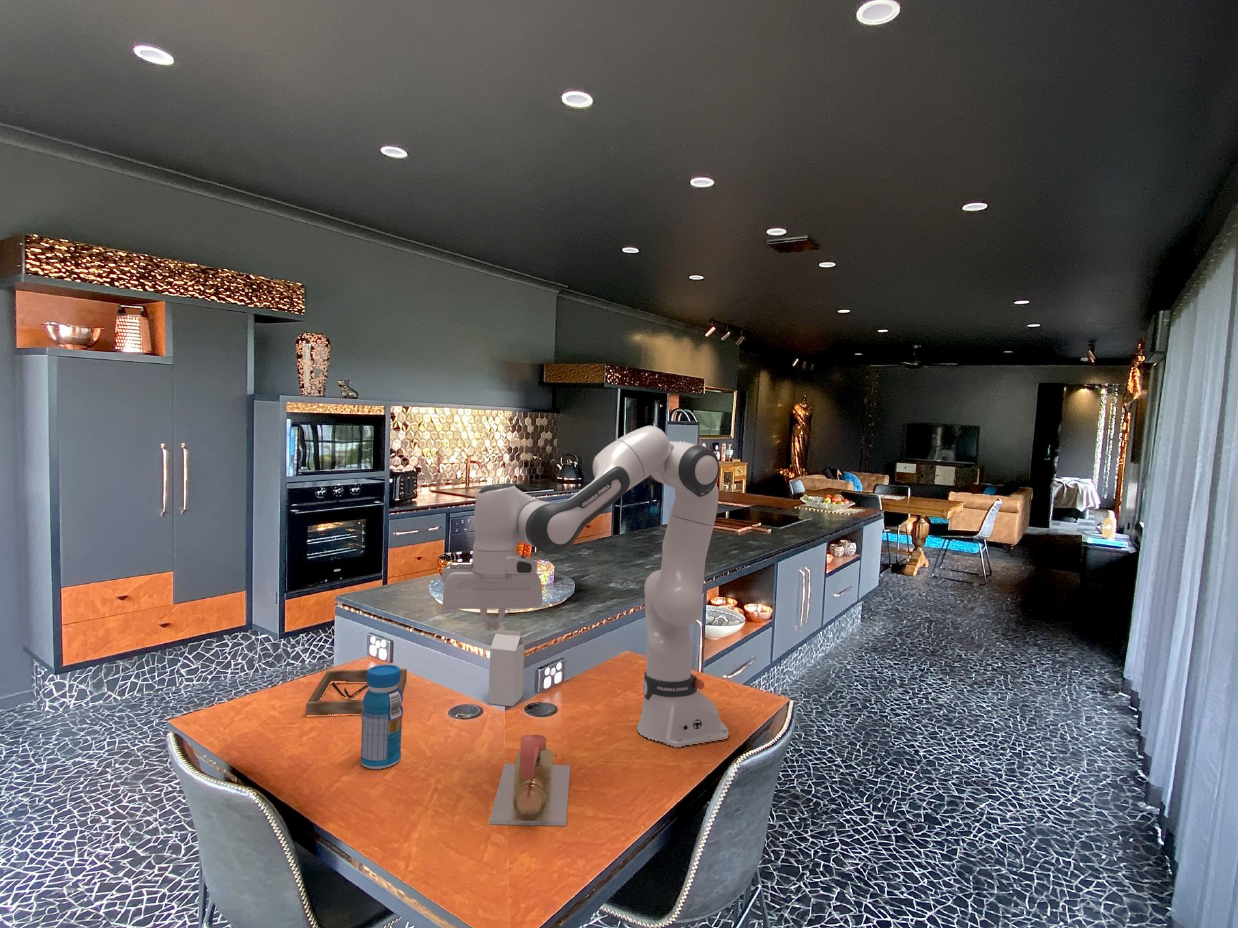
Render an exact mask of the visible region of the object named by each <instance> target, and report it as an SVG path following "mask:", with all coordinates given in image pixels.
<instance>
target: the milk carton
mask: <svg viewBox="0 0 1238 928" xmlns="http://www.w3.org/2000/svg"><path fill="white" fill-rule="evenodd" d="M521 635H522V632H521V631H512V630H502V629H499V630H495V634H494V637H493V640H492V642H491V645H490V647H489V648H490V653H489V675H488V699H487V701H488V702H487V703H488V704H490V705H498V706H499V705H500V706H504V707H505V706H506V707H515V705H516V704H517V703H518V702H519V701H520V700H522V698H523V694H524V693H523V691H524V688H523V687H524V670H525V669H524V667H525V661H524V660H525V641H524V639H523V637H522V636H521Z"/></svg>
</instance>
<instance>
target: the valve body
mask: <svg viewBox="0 0 1238 928" xmlns="http://www.w3.org/2000/svg"><path fill="white" fill-rule="evenodd" d="M553 762H554V750H551V749H548V748H547V747H546V749H545V750H544V751H541V752H539V754H538V757H537V761H536V765H535V769H534V777H533V778H532V779H529V780H523V779H521V778H520V777H519V771H520V749H518V751H517V755H516V759H515V763H504V766H503V769H502V773H501V775H500V780H499V783H498V786H497V791H496V794H495V796H494V797H495V798H494V801H493V804H492V809H491V812H490V816H489V819H488V820H489V821H488V825H501V826H502V825H503V826H510V825H511V826H548V827H550V826H553V827H555V826H556V827H558V826H559V827H566V826H567V818H568V803H569V789H570V776H571V775H570V772H571V765H570V764H553Z"/></svg>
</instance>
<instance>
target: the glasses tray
mask: <svg viewBox="0 0 1238 928" xmlns="http://www.w3.org/2000/svg"><path fill="white" fill-rule="evenodd" d="M368 670H369V669H346V670H344V669H343V670H342V669H341V670H338V669H337V670H327V671H326V672H325V674H324V676H323V677H322V678H321V679H320V681H319V683H318V684H317V686H316V688H315V690H314V691H313V693H312V694H311V696H310V697H309V699H308V700H307V702H306V708H305V709H306V710H305V711H306V712H305V716H306V715H328V714H329V715H330V714H331V715H332V714H333V715H334V714H361V713H362V710H363V709H364V706H363V699H359V700H347V699H345V700H321V701H319V700H320V698H321V697H322V695H323V693H324V692H325V690H326V688H327V687H328V685H329V683H330V682H331V681H346V682H367V672H368ZM407 672H408V668H400V682H399V685H397V686H398V688H399V689H400V691H401V693H402V696H403V694H404V691H405V687H406V683H407V674H408V673H407Z"/></svg>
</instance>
